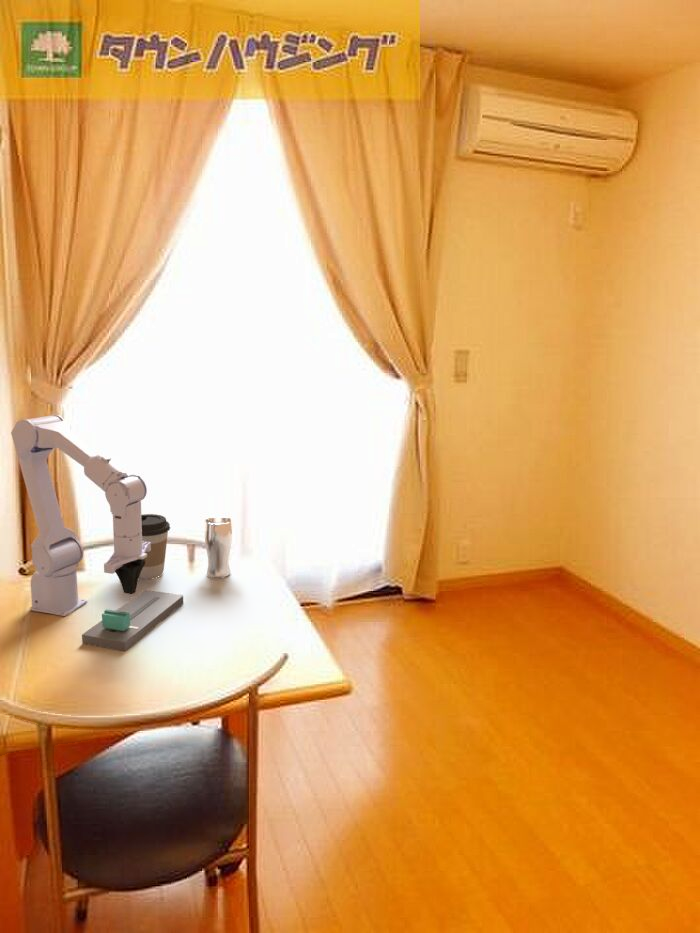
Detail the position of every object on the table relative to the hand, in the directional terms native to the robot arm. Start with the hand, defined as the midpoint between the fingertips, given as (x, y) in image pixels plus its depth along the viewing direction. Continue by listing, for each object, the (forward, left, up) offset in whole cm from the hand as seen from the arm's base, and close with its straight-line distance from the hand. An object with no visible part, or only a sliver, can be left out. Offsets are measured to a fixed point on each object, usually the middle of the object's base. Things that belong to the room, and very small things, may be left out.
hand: (129, 592), depth 142 cm
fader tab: (0, -5, -5) cm, 8 cm away
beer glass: (+5, +33, -8) cm, 34 cm away
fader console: (0, +2, -8) cm, 8 cm away
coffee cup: (-12, +27, -8) cm, 31 cm away
